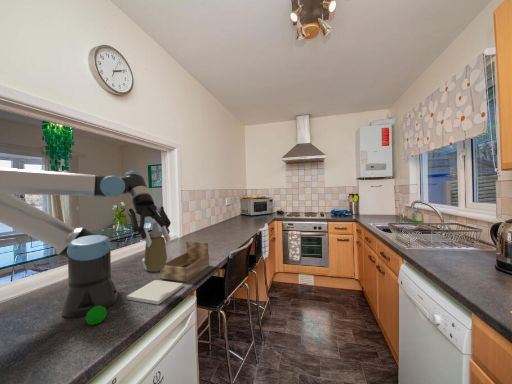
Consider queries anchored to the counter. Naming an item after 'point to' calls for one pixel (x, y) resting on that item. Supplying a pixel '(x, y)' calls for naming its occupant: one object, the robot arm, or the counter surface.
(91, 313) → the polyhedron
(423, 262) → the counter surface
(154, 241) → the squeeze bottle
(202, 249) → the wooden box
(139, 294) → the cutting board
